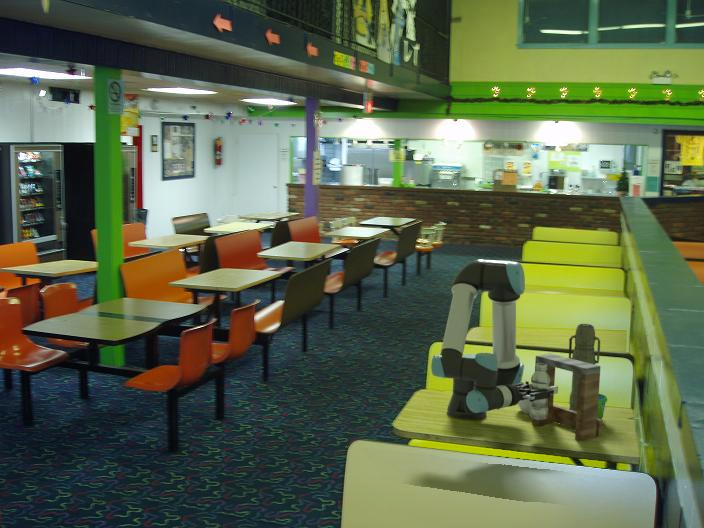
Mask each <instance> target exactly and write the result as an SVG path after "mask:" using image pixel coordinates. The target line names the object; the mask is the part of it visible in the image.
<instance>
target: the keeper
mask: <svg viewBox="0 0 704 528" xmlns="http://www.w3.org/2000/svg"><path fill="white" fill-rule="evenodd" d="M534 360H535V363H534V365H535V366H534V373H535V372H536V364H538V363H543V364H547V370H546V372H547V374H548V375H549V377H550V384H549V387H552V386H555V382H556V381H555V380H556V379H555V377H556V368H557V369H560V370H564V371H568V372H571V373H573V372H575V373H579V382H578V398H577V412H576V411H573V410H570V409H569V408H565V407H563V406H559V405H556V404H554V399H555V397H554V396H555V394H553V395H550V398H547V401H548V417H547V418H546V419H545V420H537V419H533V418H531V425H533V426H537V427H541V426H544V425H549V424H553V423H555V422H556V424H558V423H560V424H559V425H561V424H562V426H564V425H565V426H564V427H567V426H568V428H570V427H571V428H570V429H573V430H574V429H575V432H574V433H575V434H574V440H576V441H580V442H585V441H588V440H592V439H596V438H597V437H598V438H599V437H602V436H603V428H604V427H603V423H604V419H603V418H602V419H598V418H597V413H598V398H599V394H600V393H599V392H600V380H601V368H602V367H601V365H598V364H595V365H594V364H590V363H586V362H582V361H578V360H574V359H570V358H569V357H565V356H562V355H557V354H555V353H545V354H538V355H535V359H534Z"/></svg>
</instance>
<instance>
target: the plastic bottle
mask: <svg viewBox="0 0 704 528" xmlns="http://www.w3.org/2000/svg"><path fill="white" fill-rule="evenodd" d="M546 370H547V364H543V363H538V364H536V372H535V371H534V372H533V374H532V376H531V377H530V380H531V381H530V383H532V390H537V389H544V388H547V387H549V384H550V377H549V375H548V374H547V372H546ZM529 413H530V414H529V416H530V418H531V419H532V418H533V419H537V420H545V419H546V418H547V417H548V401H547V399H541V400H535V401H533V402H531V406H530V410H529Z"/></svg>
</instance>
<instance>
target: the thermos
mask: <svg viewBox="0 0 704 528" xmlns="http://www.w3.org/2000/svg"><path fill="white" fill-rule="evenodd" d="M573 339H574V345H575V346H574V350H573V351H572V347H573V346H572V345H573ZM568 341H569V342H568V345H569V346H568V358H570V359H574V360H578V361H582V362H586V363H590V364H594V365H597V364H599V363H600V354H601V340H600V338H599V337H598V336H596V330H595V327H594V325H593V324H589V323H580V324H577V327H576V329H575V334H573V335H571V337H569V339H568ZM596 341H597V352H596V353H597V356H596V353H595V344H596ZM578 382H579V373H575V372H572V377H571V392H570V394H569V408H568V409H570V410H573V411H576V412H577V398H578Z"/></svg>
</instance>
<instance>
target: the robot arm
mask: <svg viewBox="0 0 704 528" xmlns="http://www.w3.org/2000/svg"><path fill="white" fill-rule="evenodd" d="M525 278H526V277H525V269H524V267H523V265H522V263H521V262H518V261H511V260H494V259H484V258H481V259H475V260H471V261H470V262H468V263H467V264H465V265H463V267H462V268H461V269H460V270H459V271H458V273H457V274H456V275H455V277H454V279H453V281H452V285H451V293H452V298H451V303H450V307H449V312H448V316H447V322H446V326H445V331H444V336H443V340H442V345H441V350H440V354H434V355H433V356H432V359H431V363H430V364H431V365H430V368H431V369H430V370H431V374H432V376H433V377H438V378H442V379H453V380H452V395H451V397H450V400H449V403H448V405H447V411H446V412H447V415H448V416H450V417H452V418H456V419H459V420H461V419H462V420H468V421H469V420H473V421H474V420H481V419H484V418H486V417H487V413H488V412H489V411H495V410H498V411H499V410H501V409H503V408H508V407H509V408H510V407H514V406H518V402H519V401H520V400H525V399H530V402H533V401H535V400H541V399H547V398H550V395H553V394H554V395H556V394H557V395H558V394H559V386H558V385H554V386H552V387H547V388H544V389H537V390H532V383H531V382H529V381H527V380H525V383H524V382H522V381H523V375H524V369H525V365H524V363H522V362H521V360H520V357H519V356H518V355H517V353H516V352H517V302H518V300H519V299H520V298H521V295H523V294H524V293H525V289H526V285H525V284H526V283H525V280H526V279H525ZM479 292H486V293H487V297H488V299H489V300H490V301H491V305H492V306H491V307H492V311H491V314H492V318H491V319H492V321H491V322H492V353H491V352H478V353H473V354H464V351H465V346H466V341H467V335H468V331H469V326H470V319H471V314H472V310H473V306H474V301H475V300H474V299H475V298H477V297H478V296H479V295H478V294H479Z"/></svg>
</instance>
